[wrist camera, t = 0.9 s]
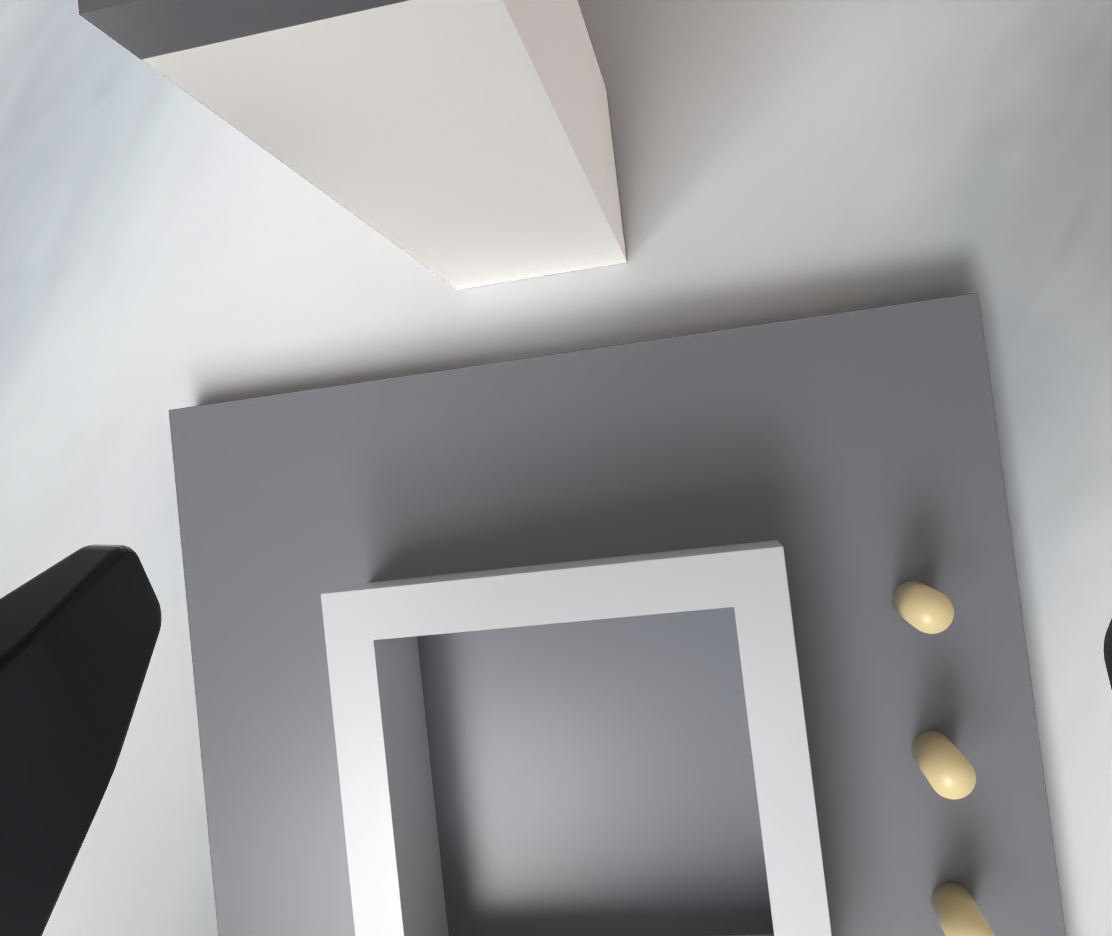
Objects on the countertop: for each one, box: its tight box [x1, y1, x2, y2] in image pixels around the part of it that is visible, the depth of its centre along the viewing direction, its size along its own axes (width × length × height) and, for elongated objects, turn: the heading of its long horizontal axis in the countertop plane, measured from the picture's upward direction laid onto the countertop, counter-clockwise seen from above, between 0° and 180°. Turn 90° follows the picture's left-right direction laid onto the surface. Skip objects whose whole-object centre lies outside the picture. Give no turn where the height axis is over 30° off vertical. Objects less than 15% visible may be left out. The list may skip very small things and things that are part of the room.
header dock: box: [169, 293, 1065, 936], centre depth 20 cm, size 18×18×4 cm
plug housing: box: [78, 0, 627, 290], centre depth 16 cm, size 4×4×13 cm
